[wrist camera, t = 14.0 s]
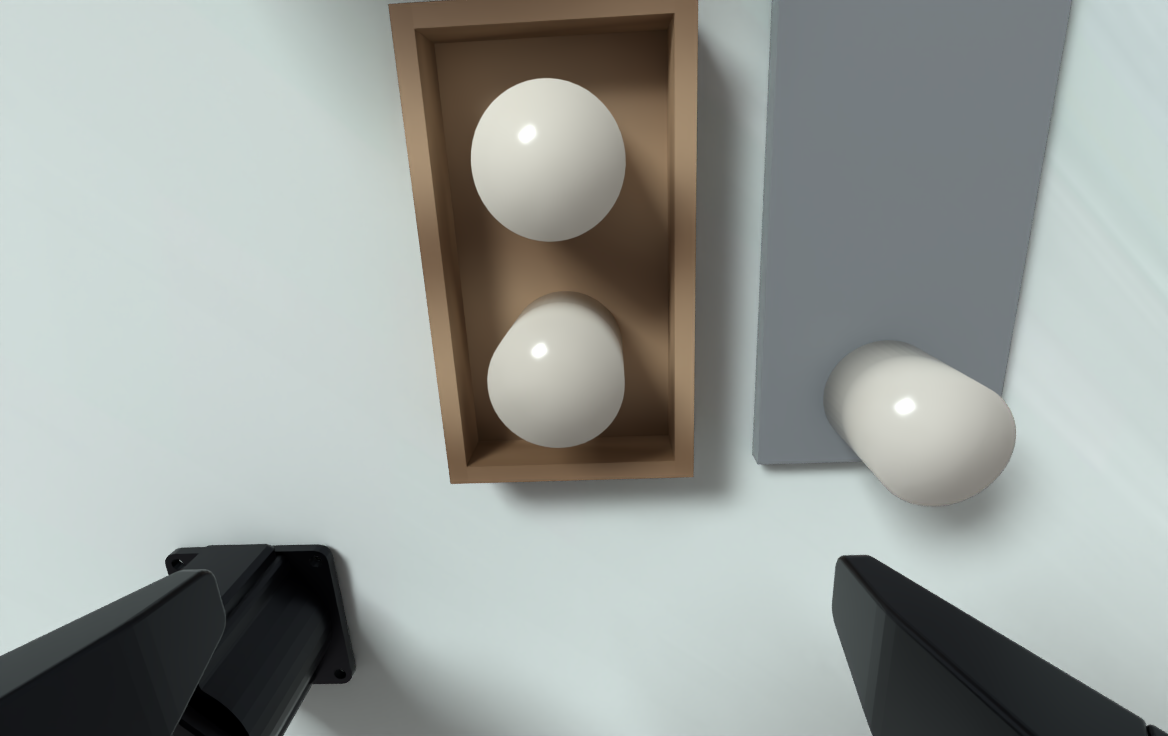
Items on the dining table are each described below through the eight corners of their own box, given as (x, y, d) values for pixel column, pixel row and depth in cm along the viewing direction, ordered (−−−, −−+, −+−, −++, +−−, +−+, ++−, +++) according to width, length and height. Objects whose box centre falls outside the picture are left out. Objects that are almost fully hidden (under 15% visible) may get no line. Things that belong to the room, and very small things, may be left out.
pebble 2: (624, 397, 21) (627, 445, 17) (515, 401, 21) (494, 450, 17) (620, 288, 20) (622, 314, 16) (505, 293, 20) (480, 320, 16)
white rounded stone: (930, 443, 21) (1003, 504, 17) (819, 447, 21) (866, 508, 17) (945, 337, 20) (1027, 378, 16) (827, 342, 20) (880, 383, 16)
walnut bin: (683, 444, 22) (693, 477, 20) (466, 450, 22) (450, 483, 20) (685, 9, 18) (698, -15, 15) (416, 25, 18) (388, 4, 16)
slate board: (976, 447, 22) (990, 458, 21) (752, 454, 22) (757, 464, 21) (1058, -34, 17) (1079, -43, 16) (772, -16, 17) (780, -25, 17)
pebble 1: (636, 195, 19) (647, 208, 15) (524, 240, 19) (508, 263, 16) (592, 69, 18) (592, 51, 14) (474, 121, 18) (444, 116, 15)
